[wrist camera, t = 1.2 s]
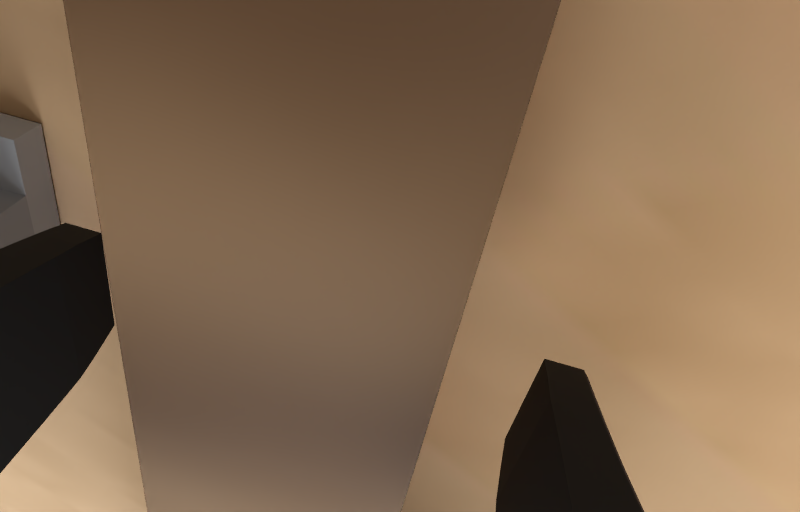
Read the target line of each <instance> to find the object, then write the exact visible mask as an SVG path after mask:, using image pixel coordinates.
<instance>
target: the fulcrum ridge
mask: <svg viewBox="0 0 800 512" xmlns="http://www.w3.org/2000/svg"><path fill="white" fill-rule="evenodd" d="M59 225H60V221H59V216H58V211H57V205H56V200H55V195H54V189H53V184H52V179H51V174H50V168H49V163H48V158H47V152H46V147H45V142H44V137H43V131H42V126H41V124H39V123H36V122H32V121H29V120H25V119H21V118H18V117H14V116H10V115H7V114H3V113H0V249H1V248H3V247H6V246H8V245H10V244H13V243H15V242H18V241H20V240H23V239H25V238H27V237H30V236H32V235H35V234H37V233H40V232H42V231H45V230H48V229H50V228H53V227H56V226H59Z"/></svg>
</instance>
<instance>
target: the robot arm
mask: <svg viewBox="0 0 800 512" xmlns="http://www.w3.org/2000/svg"><path fill="white" fill-rule="evenodd" d="M113 326H114V318H113V311H112V304H111V297H110V290H109V283H108V277H107V270H106V263H105V256H104V249H103V242H102V235H101V233H99V232H95V231H92V230H88V229H85V228H81V227H78V226H74V225H71V224H67V223H64V224H61V225H59V226H56V227H53V228H50V229H48V230H45V231H42V232H40V233H37V234H35V235H32V236H30V237H27V238H25V239H23V240H20V241H18V242H15V243H13V244H10V245H8V246H6V247H3V248H1V249H0V473H1V472H2V471H3V469H4V468H5V467H6V466H7V465H8V464H9V462H10V461H11V460H12V459H13V458H14V456H15V455H16V454H17V453H18V452H19V451H20V449H21V448H22V447H23V446H24V445H25V443H26V442H27V441H28V440H29V439H30V438H31V436H32V435H33V434H34V433H35V432H36V431H37V429H38V428H39V427H40V426H41V425H42V424H43V422H44V421H45V420H46V419H47V418H48V416H49V415H50V414H51V413H52V412H53V410H54V409H55V408H56V407H57V406H58V404H59V403H60V402H61V401H62V400H63V398H64V397H65V396H66V395H67V394H68V392H69V391H70V390H71V389H72V388H73V386H74V385H75V384H76V383H77V381H78V380H79V379H80V378H81V376H82V375H83V373H84V372H85V370H86V369H87V367H88V366H89V364H90V363H91V361H92V360H93V358H94V357H95V355H96V354H97V352H98V351H99V349H100V347H101V346H102V344H103V343H104V341H105V339H106V338H107V336H108V334H109V333H110V331H111V330H112V328H113ZM496 512H644V510H643V508H642V506H641V504H640V502H639V499H638V497H637V495H636V493H635V491H634V488H633V486H632V484H631V482H630V480H629V478H628V475H627V473H626V471H625V468H624V466H623V464H622V461H621V459H620V457H619V454H618V452H617V450H616V447H615V445H614V442H613V440H612V438H611V435H610V433H609V430H608V428H607V425H606V423H605V420H604V418H603V415H602V413H601V410H600V408H599V405H598V403H597V400H596V398H595V395H594V392H593V390H592V387H591V385H590V382H589V379H588V377H587V375H586V373H585V372H584V370H582V369H578V368H575V367H571V366H568V365H564V364H561V363H557V362H554V361H550V360H547V359H544V361H543V363H542V365H541V367H540V369H539V371H538V373H537V375H536V377H535V379H534V381H533V383H532V385H531V387H530V389H529V391H528V393H527V395H526V397H525V399H524V401H523V403H522V405H521V408H520V410H519V412H518V414H517V416H516V418H515V420H514V422H513V424H512V426H511V428H510V430H509V432H508V434H507V436H506V438H505V443H504V450H503V457H502V463H501V470H500V477H499V484H498V492H497V499H496Z"/></svg>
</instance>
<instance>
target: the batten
mask: <svg viewBox="0 0 800 512" xmlns="http://www.w3.org/2000/svg"><path fill="white" fill-rule="evenodd" d="M63 2H64V8H65V14H66V20H67V26H68V32H69V38H70V44H71V51H72V57H73V63H74V69H75V75H76V81H77V87H78V93H79V99H80V105H81V111H82V117H83V123H84V129H85V135H86V142H87V148H88V154H89V160H90V166H91V172H92V178H93V184H94V190H95V196H96V202H97V208H98V214H99V220H100V226H101V233H102V239H103V245H104V251H105V257H106V263H107V269H108V275H109V281H110V287H111V293H112V299H113V305H114V311H115V317H116V323H117V330H118V336H119V342H120V348H121V354H122V360H123V366H124V372H125V378H126V384H127V390H128V396H129V402H130V408H131V414H132V421H133V427H134V433H135V439H136V445H137V451H138V457H139V463H140V469H141V475H142V481H143V487H144V493H145V499H146V505H147V512H401V510H402V507H403V504H404V500H405V497H406V494H407V491H408V488H409V484H410V481H411V478H412V475H413V472H414V469H415V465H416V462H417V459H418V456H419V453H420V449H421V446H422V443H423V440H424V437H425V433H426V430H427V427H428V424H429V421H430V417H431V414H432V411H433V408H434V405H435V401H436V398H437V395H438V392H439V389H440V385H441V382H442V379H443V376H444V373H445V369H446V366H447V363H448V360H449V357H450V353H451V350H452V347H453V344H454V341H455V337H456V334H457V331H458V328H459V325H460V321H461V318H462V315H463V312H464V309H465V305H466V302H467V299H468V296H469V293H470V290H471V286H472V283H473V280H474V277H475V274H476V270H477V267H478V264H479V261H480V258H481V254H482V251H483V248H484V245H485V242H486V238H487V235H488V232H489V229H490V226H491V222H492V219H493V216H494V213H495V210H496V206H497V203H498V200H499V197H500V194H501V190H502V187H503V184H504V181H505V178H506V174H507V171H508V168H509V165H510V162H511V158H512V155H513V152H514V149H515V146H516V142H517V139H518V136H519V133H520V130H521V126H522V123H523V120H524V117H525V114H526V111H527V107H528V104H529V101H530V98H531V95H532V91H533V88H534V85H535V82H536V79H537V75H538V72H539V69H540V66H541V63H542V59H543V56H544V53H545V50H546V47H547V43H548V40H549V37H550V34H551V31H552V27H553V24H554V21H555V18H556V15H557V11H558V8H559V5H560V2H561V0H63Z"/></svg>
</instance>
